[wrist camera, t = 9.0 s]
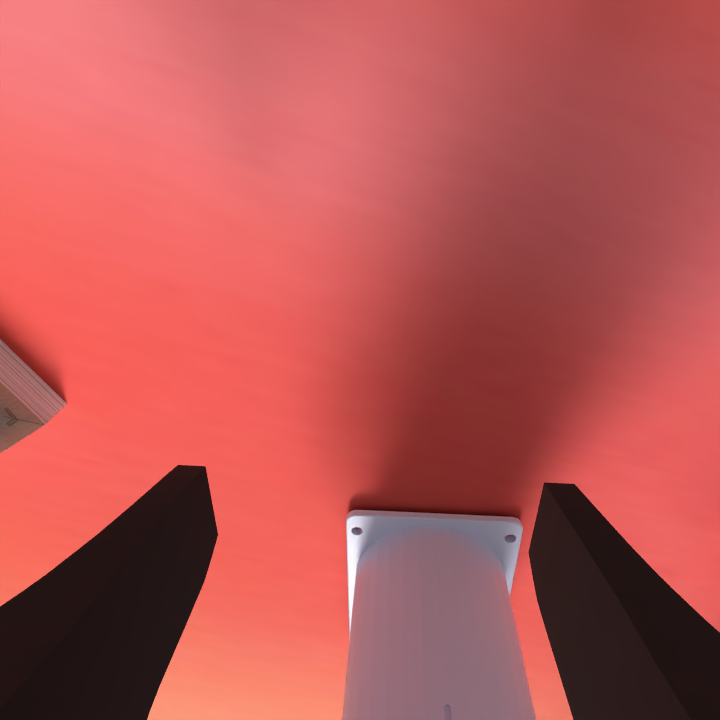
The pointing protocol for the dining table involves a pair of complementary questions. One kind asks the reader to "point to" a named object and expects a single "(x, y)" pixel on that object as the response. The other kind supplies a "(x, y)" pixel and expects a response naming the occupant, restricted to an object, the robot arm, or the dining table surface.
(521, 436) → the dining table surface
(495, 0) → the dining table surface
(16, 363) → the picture frame
